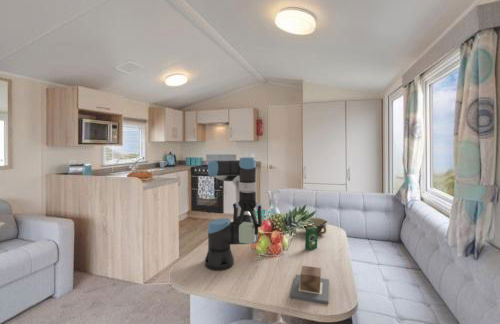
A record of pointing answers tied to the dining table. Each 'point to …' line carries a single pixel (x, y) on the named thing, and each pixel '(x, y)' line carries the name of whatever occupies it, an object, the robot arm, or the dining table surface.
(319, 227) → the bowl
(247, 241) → the sage brick
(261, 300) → the dining table surface
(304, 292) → the grey flat slab
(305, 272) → the walnut block
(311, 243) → the coffee box
